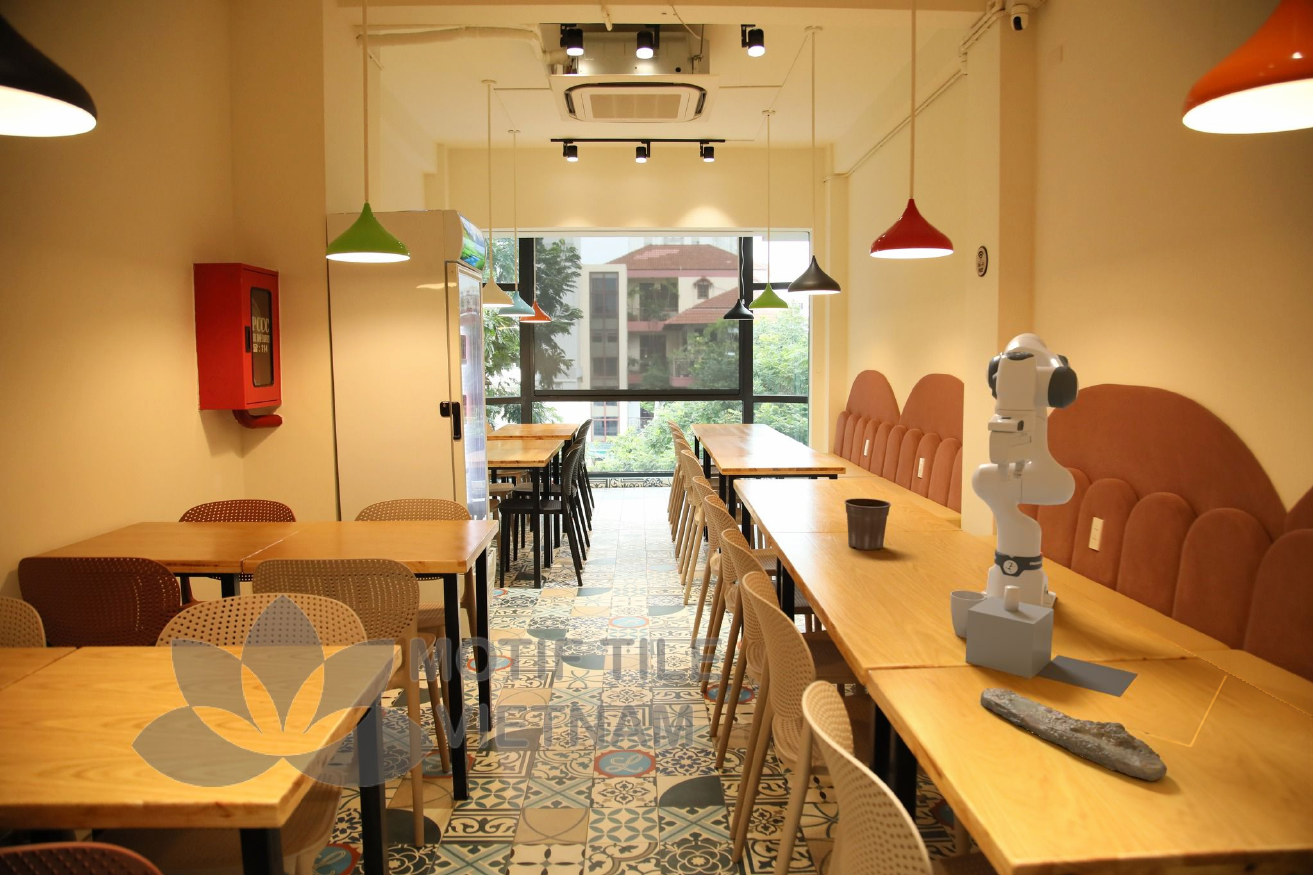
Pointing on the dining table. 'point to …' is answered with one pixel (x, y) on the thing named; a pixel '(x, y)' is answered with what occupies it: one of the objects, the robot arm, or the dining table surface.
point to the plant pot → (866, 522)
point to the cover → (1009, 635)
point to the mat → (1088, 675)
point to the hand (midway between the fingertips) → (1011, 480)
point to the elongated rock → (1079, 734)
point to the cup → (963, 609)
